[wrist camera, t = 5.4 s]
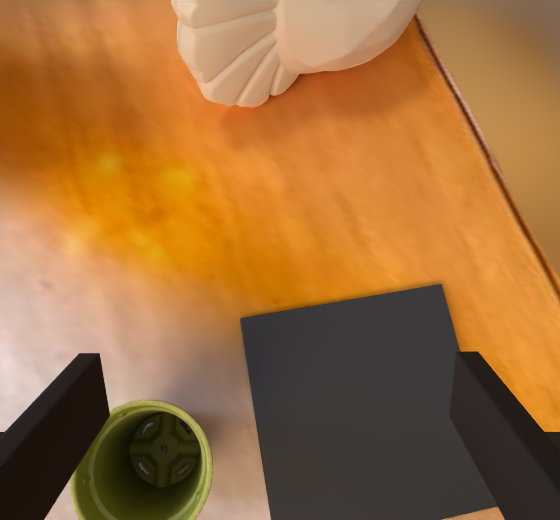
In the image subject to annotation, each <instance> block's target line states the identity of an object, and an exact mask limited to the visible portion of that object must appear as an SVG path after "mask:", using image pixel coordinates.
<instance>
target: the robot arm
mask: <svg viewBox="0 0 560 520" xmlns="http://www.w3.org/2000/svg"><path fill="white" fill-rule="evenodd" d="M109 417H110V413H109V407H108V401H107V395H106V389H105V383H104V377H103V371H102V365H101V359H100V353H79V354H78V355H77V356H76V357H75V359H74V360H73V361H72V362H71V363H70V364H69V365H68V366H67V367H66V368H65V369H64V370H63V371H62V372H61V373H60V374H59V375H58V376H57V378H56V379H55V380H54V381H53V382H52V383H51V384H50V385H49V386H48V387H47V388H46V389H45V390H44V391H43V392H42V393H41V394H40V396H39V397H38V398H37V399H36V400H35V401H34V402H33V403H32V404H31V405H30V406H29V407H28V408H27V409H26V410H25V411H24V412H23V413H22V415H21V416H20V417H19V418H18V419H17V420H16V421H15V422H14V423H13V424H12V425H11V426H10V427H9V428H8V429H7V430H6V431H5V432H0V520H44V519H45V517H46V516H47V514H48V513H49V511H50V509H51V508H52V506H53V505H54V503H55V502H56V500H57V498H58V497H59V495H60V494H61V492H62V491H63V489H64V487H65V486H66V484H67V483H68V481H69V480H70V478H71V476H72V475H73V473H74V472H75V470H76V469H77V467H78V465H79V464H80V462H81V461H82V459H83V458H84V456H85V454H86V453H87V451H88V450H89V448H90V446H91V445H92V443H93V442H94V440H95V439H96V437H97V435H98V434H99V432H100V431H101V429H102V428H103V426H104V424H105V423H106V421H107V420H108V418H109ZM449 417H450V419H451V421H452V422H453V424H454V426H455V428H456V430H457V432H458V434H459V435H460V437H461V439H462V441H463V443H464V445H465V447H466V448H467V450H468V452H469V454H470V456H471V458H472V459H473V461H474V463H475V465H476V467H477V469H478V471H479V472H480V474H481V476H482V478H483V480H484V482H485V484H486V485H487V487H488V489H489V491H490V493H491V495H492V496H493V498H494V500H495V502H496V504H497V506H498V508H499V509H500V511H501V513H502V515H503V517H504V519H505V520H560V432H544V431H543V430H542V429H541V428H540V426H539V425H538V424H537V423H536V421H535V420H534V419H533V418H532V417H531V415H530V414H529V413H528V412H527V411H526V409H525V408H524V407H523V406H522V404H521V403H520V402H519V401H518V400H517V398H516V397H515V396H514V395H513V394H512V392H511V391H510V390H509V389H508V388H507V386H506V385H505V384H504V383H503V381H502V380H501V379H500V378H499V377H498V375H497V374H496V373H495V372H494V371H493V369H492V368H491V367H490V366H489V364H488V363H487V362H486V361H485V360H484V358H483V357H482V356H481V355H480V354H479V352H456V360H455V368H454V377H453V386H452V394H451V403H450V411H449Z"/></svg>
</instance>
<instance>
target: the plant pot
mask: <svg viewBox="0 0 560 520" xmlns="http://www.w3.org/2000/svg"><path fill="white" fill-rule="evenodd" d="M109 413H110V417H109V418H108V420H107V421H106V423H105V424H104V426H103V428H102V429H101V431H100V432H99V434H98V435H97V437H96V439H95V440H94V442H93V443H92V445H91V446H90V448H89V450H88V451H87V453H86V454H85V456H84V458H83V459H82V461H81V462H80V464H79V465H78V467H77V469H76V470H75V472H74V473H73V475H72V476H71V478H70V489H71V496H72V501H73V505H74V509H75V512H76V514H77V516H78V518H79V520H195V519H196V518H197V516H198V515H199V513H200V512H201V510H202V508H203V506H204V504H205V502H206V499H207V497H208V494H209V491H210V487H211V482H212V474H213V460H212V453H211V448H210V445H209V442H208V439H207V437H206V435H205V433H204V431H203V430H202V428H201V426H200V425H199V424H198V423H197V421H196V420H195V419H194V418H193V417H192V416H191V415H189V414H188V413H187V412H186V411H184V410H183V409H181V408H179V407H177V406H175V405H173V404H170V403H167V402H163V401H158V400H138V401H133V402H129V403H126V404H123V405H121V406H118V407H116V408H115V409H113V410H111V411H110V412H109ZM150 422H154V423H155V424H154V425H153V426H152V427H150V428H149V429H148V430H147V431H146V432H145V433H144V434H143V435H142V431H143V429H144V428H145V427H146V425H148V424H149V423H150ZM180 422H184V423H185V424H186V425H187V426H188V427H189V428H190V430H191V433H190V434H188V432H187V431H186V430H185V429H184V428H183V426H181V425H180ZM163 446H167V448H168V450H167V451H166V452H163V450H162V447H163ZM139 462H142V463H143V465H144V466H145V467H146V468H147V470H148V471H150V472H151V473H150V475H147V474H146V473H145V472H144V471H143V470H141V468H140V467H139ZM186 462H189V467H188V468H187V469H186V470H185V471H184V472H183V473H182V474H180V475H177V474H176V472H177V471H179V470H180V469H181V468H182V467H183V466H184V465H185V463H186Z"/></svg>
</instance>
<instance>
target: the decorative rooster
mask: <svg viewBox="0 0 560 520" xmlns="http://www.w3.org/2000/svg"><path fill="white" fill-rule="evenodd" d="M421 2H422V0H171V4H172V7H173V10H174V11H175V13H176V14H177V16H178V18H179V20H178V23H177V37H176V39H177V48H178V52H179V54H180V55H181V57H182V59H183V61H184V63H185V64H186V65H187V67H188V69H189V71H190V72H191V74H192V76H193V77H194V78H195V79H196V80H197V84H198V87H199V89H200V91H201V92H202V95H203V96H204V97H205V98H206V99H207V100H209V101H211V102H213V103H217V104H220V103H222V104H224V105H226V106H228V107H231V106H232V105H233V104H235V105H237V106H240V107H246V106H248V107H251V108H255V107H258V106H260V105H262V104H263V103H264V102H266V101H267V99H268V98H269V94H270V95H273V96H276V95H280V94H282V93H283V92H285V91H286V90H287V89H288V88H289V87H290V86H291V85H292V83H293V82H294V81H295V80H296V78H297V77H298V75H299V74H309V73H316V72H321V71H338V70H344V69H348V68H352V67H355V66H358V65H361V64H364V63H366V62H368V61H370V60H372V59H373V58H375V57H376V56H378V55H379V54H381V53H382V52H384V51H385V50H386V49H388V48H389V47H390V46H391V45H393V44H394V43H395V42H396V41H397V40H398V39H399V37H400V36H401V35H402V33H403V32H404V30H405V29H406V27H407V26H408V24H409V23H410V21H411V20H412V18H413V17H414V15H415V14H416V12H417V10H418V8H419V6H420V4H421Z"/></svg>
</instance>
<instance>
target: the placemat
mask: <svg viewBox="0 0 560 520" xmlns="http://www.w3.org/2000/svg"><path fill="white" fill-rule="evenodd" d="M240 323H241V329H242V336H243V342H244V348H245V355H246V361H247V368H248V374H249V380H250V387H251V393H252V400H253V406H254V412H255V419H256V425H257V432H258V438H259V444H260V451H261V457H262V464H263V470H264V476H265V483H266V489H267V496H268V502H269V508H270V515H271V520H441V519H445V518H450V517H454V516H458V515H462V514H467V513H471V512H475V511H479V510H484V509H488V508H492V507H496V506H497V504H496V502H495V500H494V498H493V496H492V495H491V493H490V491H489V489H488V487H487V485H486V484H485V482H484V480H483V478H482V476H481V474H480V472H479V471H478V469H477V467H476V465H475V463H474V461H473V459H472V458H471V456H470V454H469V452H468V450H467V448H466V447H465V445H464V443H463V441H462V439H461V437H460V435H459V434H458V432H457V430H456V428H455V426H454V424H453V422H452V421H451V419H450V417H449V411H450V403H451V394H452V386H453V377H454V368H455V360H456V352H460V351H459V347H458V343H457V340H456V336H455V332H454V329H453V325H452V321H451V317H450V314H449V310H448V306H447V303H446V299H445V295H444V292H443V288H442V284H439V285H433V286H427V287H421V288H416V289H410V290H404V291H398V292H392V293H386V294H381V295H375V296H369V297H363V298H357V299H351V300H346V301H340V302H334V303H328V304H322V305H316V306H311V307H305V308H299V309H293V310H287V311H281V312H276V313H270V314H264V315H258V316H252V317H246V318H241V319H240Z"/></svg>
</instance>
